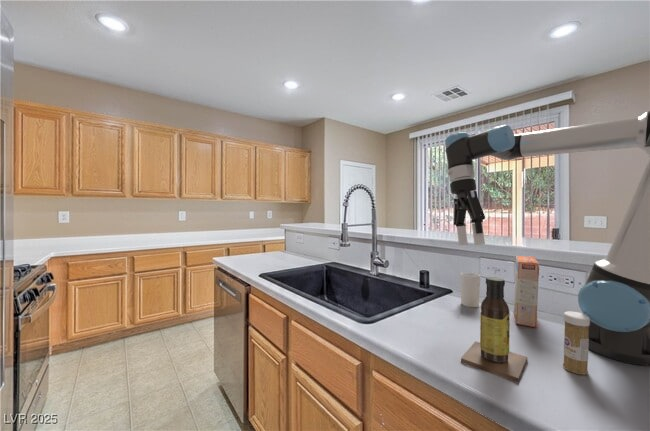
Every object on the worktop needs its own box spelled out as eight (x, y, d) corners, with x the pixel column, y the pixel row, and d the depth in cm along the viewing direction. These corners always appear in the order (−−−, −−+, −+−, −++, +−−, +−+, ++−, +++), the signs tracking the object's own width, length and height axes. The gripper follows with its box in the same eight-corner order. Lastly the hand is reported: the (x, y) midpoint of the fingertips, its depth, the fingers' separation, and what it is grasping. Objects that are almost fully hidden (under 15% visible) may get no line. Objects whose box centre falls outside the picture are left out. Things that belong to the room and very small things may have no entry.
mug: (474, 309, 107) (475, 277, 106) (457, 304, 112) (457, 274, 112) (486, 303, 113) (486, 273, 113) (468, 298, 118) (469, 270, 118)
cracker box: (538, 328, 90) (540, 263, 89) (515, 324, 93) (516, 261, 92) (533, 314, 102) (535, 256, 101) (513, 311, 105) (514, 254, 104)
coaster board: (527, 360, 71) (527, 356, 71) (518, 382, 63) (518, 378, 63) (475, 344, 80) (475, 341, 80) (460, 362, 71) (460, 358, 71)
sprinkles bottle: (558, 365, 69) (558, 311, 69) (573, 363, 70) (574, 309, 69) (577, 376, 65) (578, 319, 64) (594, 374, 66) (595, 317, 65)
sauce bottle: (513, 365, 68) (515, 282, 67) (484, 362, 69) (486, 281, 68) (502, 352, 74) (504, 276, 73) (476, 349, 75) (477, 275, 74)
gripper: (440, 189, 107) (447, 245, 104) (463, 171, 82) (474, 245, 79) (460, 187, 106) (468, 244, 103) (491, 169, 81) (502, 243, 79)
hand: (471, 245), depth 91 cm, fingers open, 13 cm apart
